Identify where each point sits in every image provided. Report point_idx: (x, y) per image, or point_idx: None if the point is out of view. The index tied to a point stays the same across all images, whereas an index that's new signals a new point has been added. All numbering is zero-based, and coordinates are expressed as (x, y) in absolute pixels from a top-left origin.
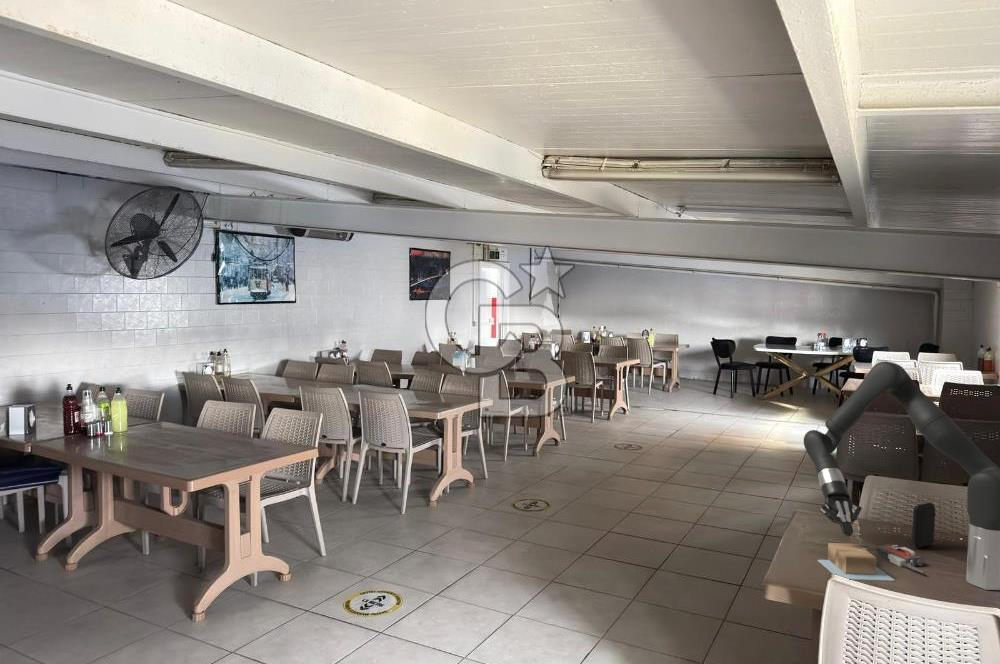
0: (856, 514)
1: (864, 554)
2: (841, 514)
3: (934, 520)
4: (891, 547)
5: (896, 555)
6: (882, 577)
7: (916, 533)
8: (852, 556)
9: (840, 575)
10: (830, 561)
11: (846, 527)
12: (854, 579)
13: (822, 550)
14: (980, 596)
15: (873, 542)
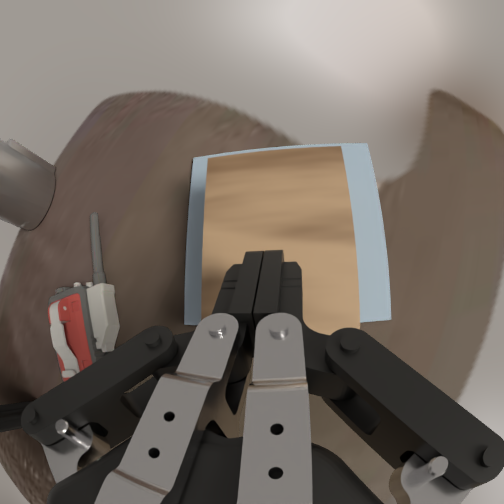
0: (100, 373)
1: (240, 189)
2: (279, 384)
3: None
4: None
5: (91, 327)
6: None
7: (14, 410)
8: (310, 155)
9: (357, 165)
10: None
11: (275, 277)
12: (319, 145)
13: (314, 438)
14: (82, 134)
15: None
